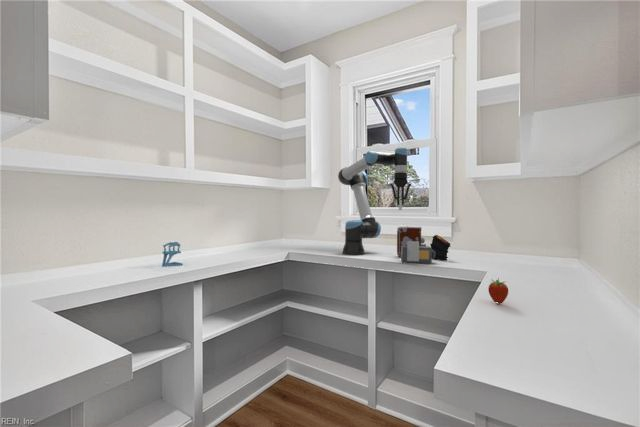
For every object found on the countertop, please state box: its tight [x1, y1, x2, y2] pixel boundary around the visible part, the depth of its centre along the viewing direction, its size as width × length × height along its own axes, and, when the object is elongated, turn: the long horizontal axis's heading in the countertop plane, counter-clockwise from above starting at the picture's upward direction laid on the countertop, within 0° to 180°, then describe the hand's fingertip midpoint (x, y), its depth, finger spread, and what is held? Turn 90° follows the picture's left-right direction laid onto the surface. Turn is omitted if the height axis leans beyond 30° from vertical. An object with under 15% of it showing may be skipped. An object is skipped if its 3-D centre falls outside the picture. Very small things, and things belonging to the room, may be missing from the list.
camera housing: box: [400, 245, 435, 265], centre depth 180 cm, size 18×10×10 cm, turn 80°
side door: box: [407, 241, 419, 261], centre depth 176 cm, size 6×1×11 cm, turn 80°
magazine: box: [429, 234, 451, 262], centre depth 192 cm, size 4×13×15 cm, turn 29°
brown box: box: [396, 225, 427, 258], centre depth 203 cm, size 9×19×20 cm, turn 89°
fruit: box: [488, 277, 509, 304], centre depth 97 cm, size 5×5×8 cm
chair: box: [161, 241, 184, 267], centre depth 160 cm, size 8×8×12 cm
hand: (400, 210), depth 195 cm, fingers closed
